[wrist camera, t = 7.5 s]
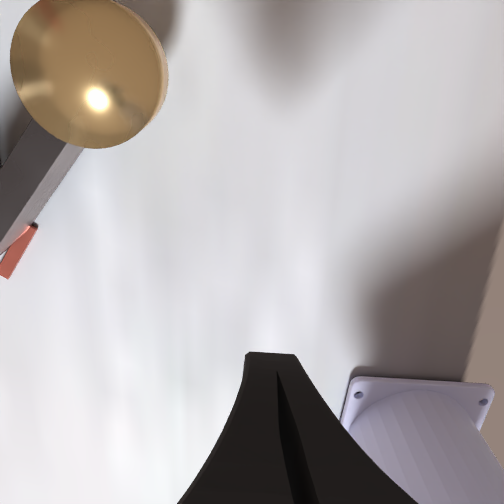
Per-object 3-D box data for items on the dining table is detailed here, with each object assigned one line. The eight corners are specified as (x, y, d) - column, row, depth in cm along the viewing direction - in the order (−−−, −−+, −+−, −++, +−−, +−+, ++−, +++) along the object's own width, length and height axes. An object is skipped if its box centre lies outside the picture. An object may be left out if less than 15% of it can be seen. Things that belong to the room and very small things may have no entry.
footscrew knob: (98, -26, 16) (58, -47, 12) (198, 61, 17) (188, 65, 13) (-33, 190, 19) (-96, 224, 15) (60, 250, 20) (22, 295, 16)
